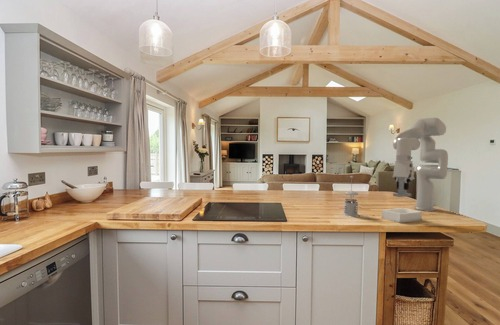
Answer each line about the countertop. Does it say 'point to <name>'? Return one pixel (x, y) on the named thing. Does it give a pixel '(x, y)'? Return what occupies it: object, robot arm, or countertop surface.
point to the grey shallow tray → (401, 215)
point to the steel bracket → (401, 189)
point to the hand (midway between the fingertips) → (402, 188)
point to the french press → (351, 204)
